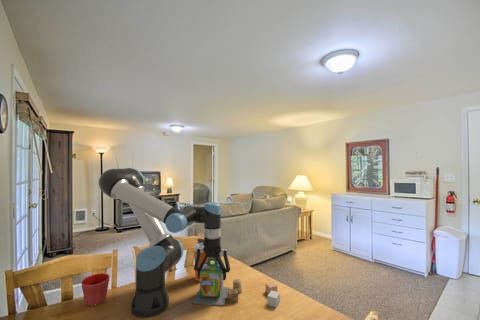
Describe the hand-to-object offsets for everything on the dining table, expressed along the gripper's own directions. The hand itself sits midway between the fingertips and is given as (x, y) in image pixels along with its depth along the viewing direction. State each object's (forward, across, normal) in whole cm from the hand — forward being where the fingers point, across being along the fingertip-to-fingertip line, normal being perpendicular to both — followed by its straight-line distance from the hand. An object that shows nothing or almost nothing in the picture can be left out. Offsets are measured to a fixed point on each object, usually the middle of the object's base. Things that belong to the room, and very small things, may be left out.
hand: (211, 286), depth 108 cm
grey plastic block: (+5, +28, -2) cm, 29 cm away
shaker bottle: (+5, -9, +15) cm, 18 cm away
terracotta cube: (+5, +27, +6) cm, 28 cm away
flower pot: (+5, -50, -11) cm, 51 cm away
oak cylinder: (+5, +11, +5) cm, 13 cm away
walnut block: (+5, +10, -2) cm, 11 cm away
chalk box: (+3, 0, 0) cm, 3 cm away
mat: (+5, 0, 0) cm, 5 cm away
